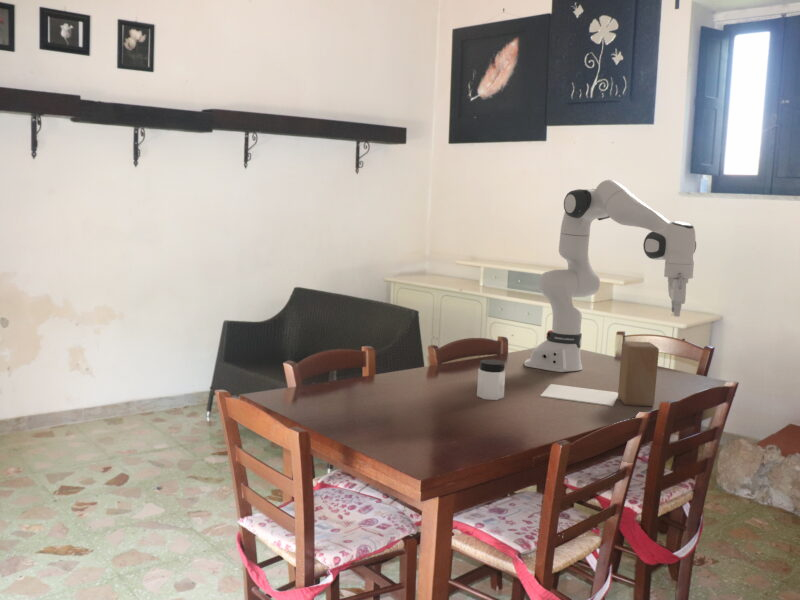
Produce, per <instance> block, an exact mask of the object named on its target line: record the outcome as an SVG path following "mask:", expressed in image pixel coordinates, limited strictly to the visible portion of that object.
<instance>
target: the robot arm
mask: <svg viewBox="0 0 800 600" xmlns="http://www.w3.org/2000/svg"><path fill="white" fill-rule="evenodd" d="M563 210H564V214H563V217H562V221H561V225H560V234H559V235H560V236H559V243H558V244H559V245H558V253H559V256H561V258H563V259H564V260H566V262H567V263H566V264H567V269H554V270H548V271H545V272H543V273H542V274H541V276H540V278H539V282H538V286H539V290H540V291H541V294H542V295H543V296H545V298H547V300H548V302H549V304H550V307H551V311H552V322H551V323H552V324H551V325H552V326H551V327H552V328H551V329H549V330H548V331H547V332H546V340H545V341H543V342H541V343H540V344H538V345H536V346H535V347H534V348H533V349H532V351H531V354H530V358H527V359H526V360H525V361H524V366H525V367H529V368H534V369H539V370H546V371H551V372H557V373H565V372H577V371H578V372H579V371H582V370H583V365H582V360H581V348H582V342H583V341H582V335H583V334H582V332H581V331H582V319H583V315H582V313H581V311H580V310H579V309H578V308H576V307H575V306H574V305H573V298H586V297H590V296H592V295H596V294H597V293H598V291H599V289H600V286H601V281H600V277H599V275H598V273H597V272H596V271H594V269H593V268H592V266H591V263H590V259H589V243H590V233H591V224H592V222H593V221H594V220H598V221H602V220H605V219H609V218H610V219H611V220H612V221H614V222H616V223H617V224H620V225H621V226H628V227H634V228H635V227H636V228H643V229H646V230H648V231H650V232H648V234H647V235H646V236H645V238H644V240H643V245H642V246H643V252H644V254H645V256H646V257H648V258H649V259H652V260H655V261H657V260H658V261H659V260H660V261H661V260H662V261H664V273H663V274H664V275H663V276H664V277H665V278H667V284H668V285H667V288H668V290H667V291H668V297H669V298H670V300H671V313H673V316H674V317H678V318H679V317H681V311H682V310H681V309H682V305H683V304H686V296H687V294H686V293H687V284H689V279H693V278H694V266H695V264H694V263H695V262H694V254H695V252H696V250H697V241H696V240H697V239H696V230H695V227H694V225H693V224H691V223H688V222H684V221H678V220H677V221H675V220H674V221H670V220H669V219H667V218H666V217H665V216H663V215H662V214H661V213H659V211H657V210H655V209H653V208H652V207H650V206H649V205H647V204H646V203H645V202H643V201H641V200H640V199H639V198H638V197H636V195H634V194H633V193H632V192H631V191H630V190H629V189H628V188H626V187H625V186H623V184H621V183H619V182H617V181H616V180H613V179H607V180H602V181H601V182H600V183H599V184H598V185H597V186H596V188H589V189H587V188H586V189H579V188H578V189H574V190H571V191H569V192H567V194H566V195H565V197H564V200H563Z"/></svg>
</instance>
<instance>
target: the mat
mask: <svg viewBox="0 0 800 600" xmlns="http://www.w3.org/2000/svg"><path fill="white" fill-rule="evenodd" d="M540 397H541V398H547V399H548V398H549V399H553V400H554V399H555V400H556V399H557V400H563V401H570V402H578V403H586V404H592V405H601V406H609V407H614V405H615V403H616V401H617V399H619V398H618V391H617V392H616V391H608V390H601V389H593V388H586V387H585V388H584V387H577V386H571V385H570V386H569V385H563V384H562V385H561V384H554V383H553V384H552V383H550V384H549V385H548V387H547V388H546V389H545V390H544V391H543V392H542V393H541V394H540Z"/></svg>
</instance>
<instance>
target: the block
mask: <svg viewBox="0 0 800 600" xmlns="http://www.w3.org/2000/svg"><path fill="white" fill-rule="evenodd" d="M659 350H660V349H659V347H658V346H656V345H654V344H653V343H652V342H650V341H648V342H647V341H632V340H631V341H630V340H625V341H622V344H621V351H620V352H621V353H620V364H619V365H620V366H619V377H618V389H617V390H618V391H617V392H618V398H617V399H619V401H621V402H622V404H624V405H625V406H635V407H654V404H655V397H656V387H657V375H658V365H659V364H658V362H659V353H660V351H659Z"/></svg>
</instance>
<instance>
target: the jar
mask: <svg viewBox="0 0 800 600" xmlns="http://www.w3.org/2000/svg"><path fill="white" fill-rule="evenodd" d="M505 365H506V364H505V362H504V361H502V360H499V359H490V358H489V359H482V360H480V361H479V368H478V369H477V371H478V372H477V385H476V386H477V388H476V390H477V391H476V397H479V398H480V399H482V400H487V401H488V400H489V401H498V400H501V399H504V398H505V385H506V384H505V383H506V370H505Z"/></svg>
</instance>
